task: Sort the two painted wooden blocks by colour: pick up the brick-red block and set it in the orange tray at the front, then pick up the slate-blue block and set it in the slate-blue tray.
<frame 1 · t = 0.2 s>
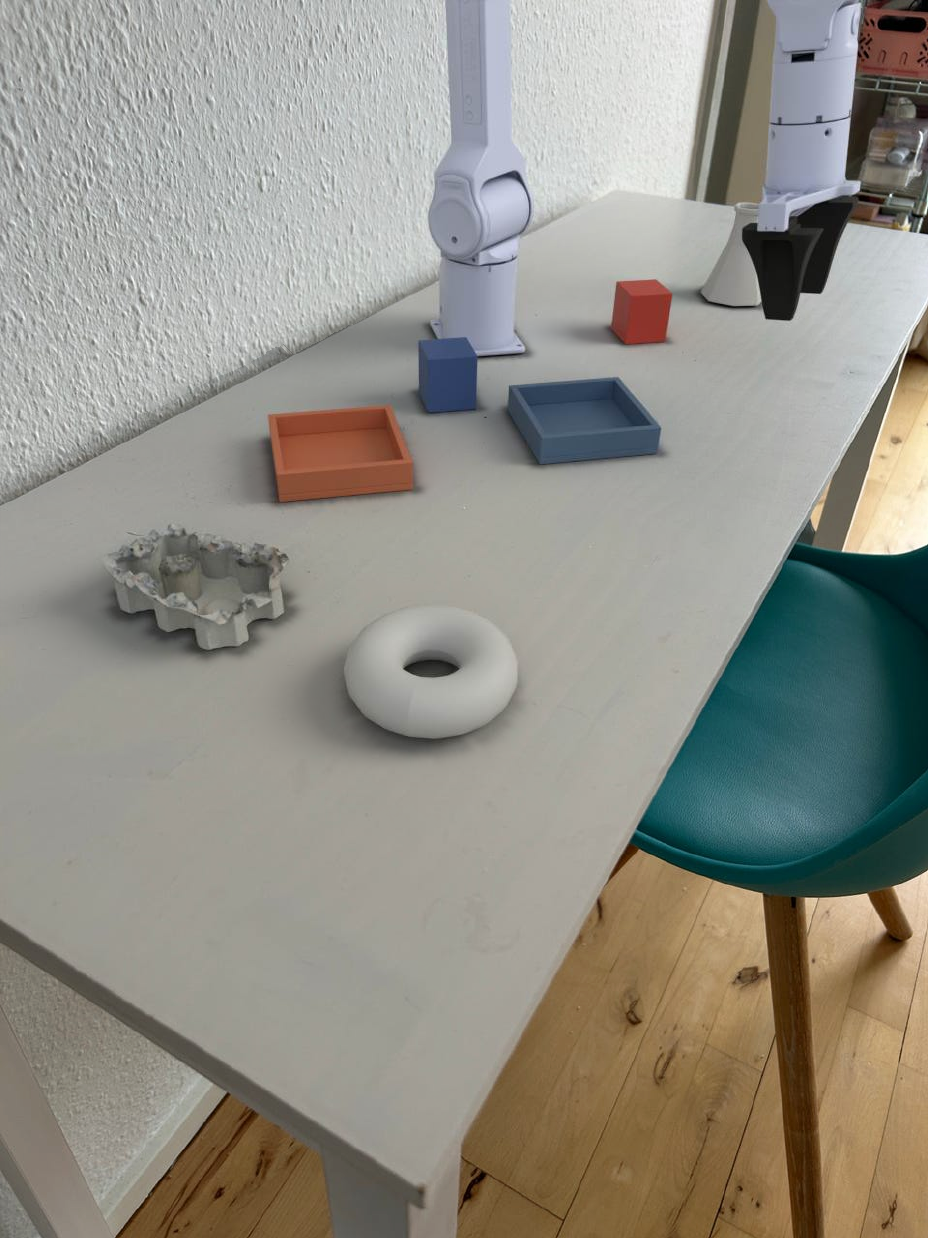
hand: (794, 305, 78), 10 cm above the table, tool pointing down, fingers open, 7 cm apart
orange tray: (339, 464, 77), on the table
egg carton: (201, 607, 62), on the table
blue block: (447, 400, 86), on the table
flask: (731, 299, 110), on the table
red block: (637, 335, 100), on the table
blue tray: (579, 431, 82), on the table
donut: (431, 692, 56), on the table
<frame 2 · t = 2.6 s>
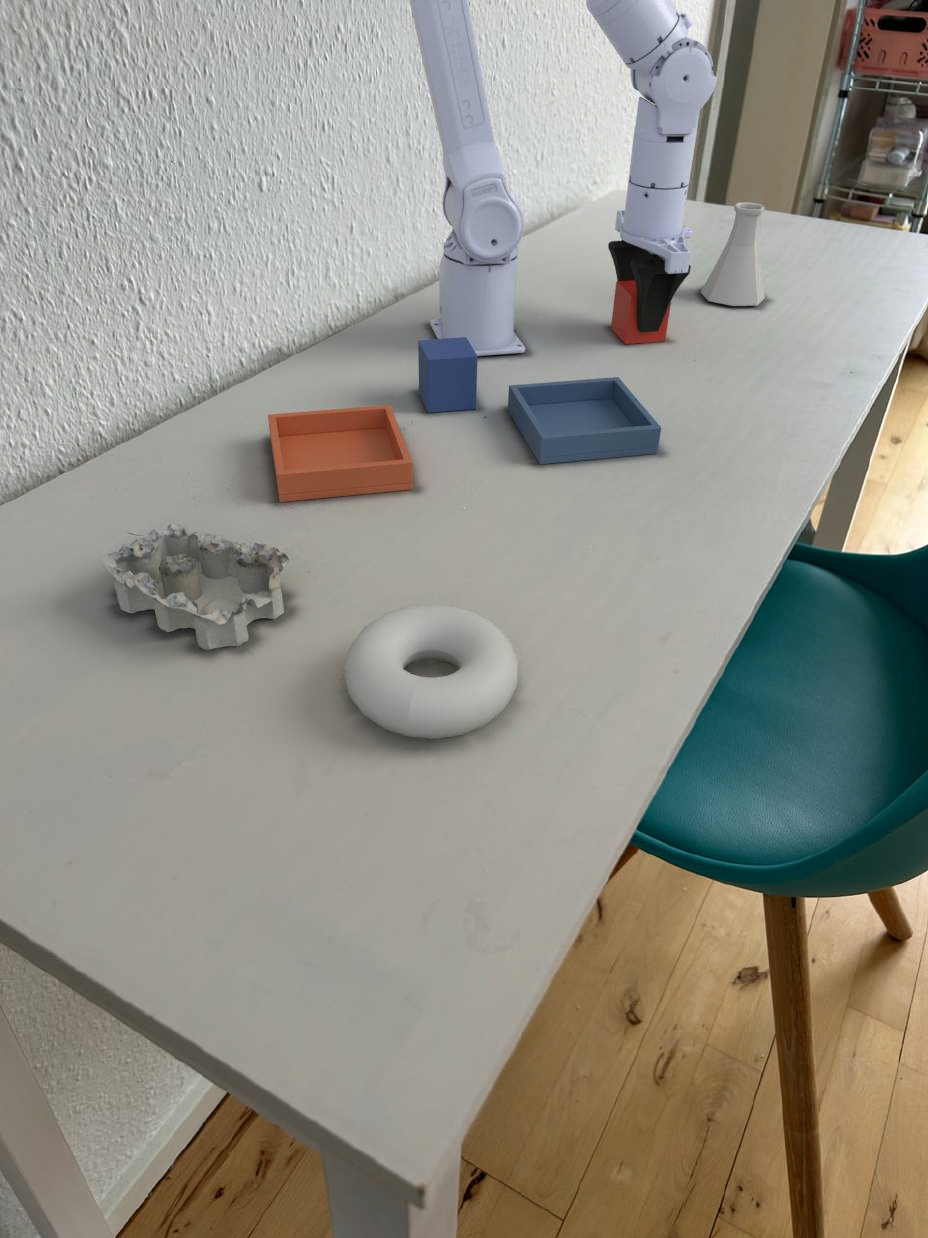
hand: (639, 321, 99), 1 cm above the table, tool pointing down, fingers closed on red block, 4 cm apart
red block: (637, 334, 100), on the table, touching gripper
everything else where it was.
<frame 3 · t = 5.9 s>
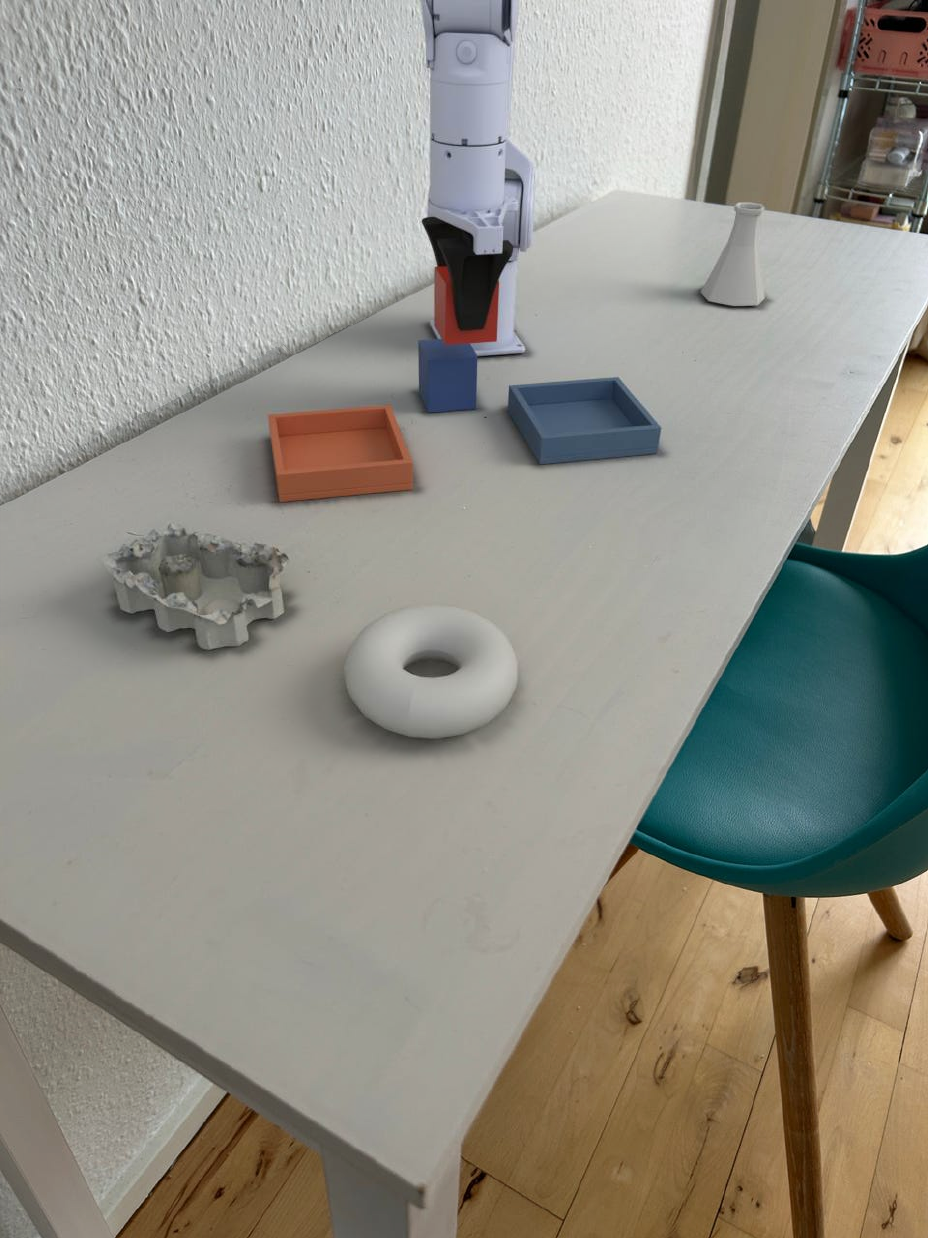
hand: (464, 317, 79), 8 cm above the table, tool pointing down, fingers closed on red block, 4 cm apart
red block: (465, 333, 80), point 7 cm above the table, touching gripper
everything else where it was.
when the fingers open (2 cm above the table, at t = 9.0 s): red block stays where it is, resting on orange tray.
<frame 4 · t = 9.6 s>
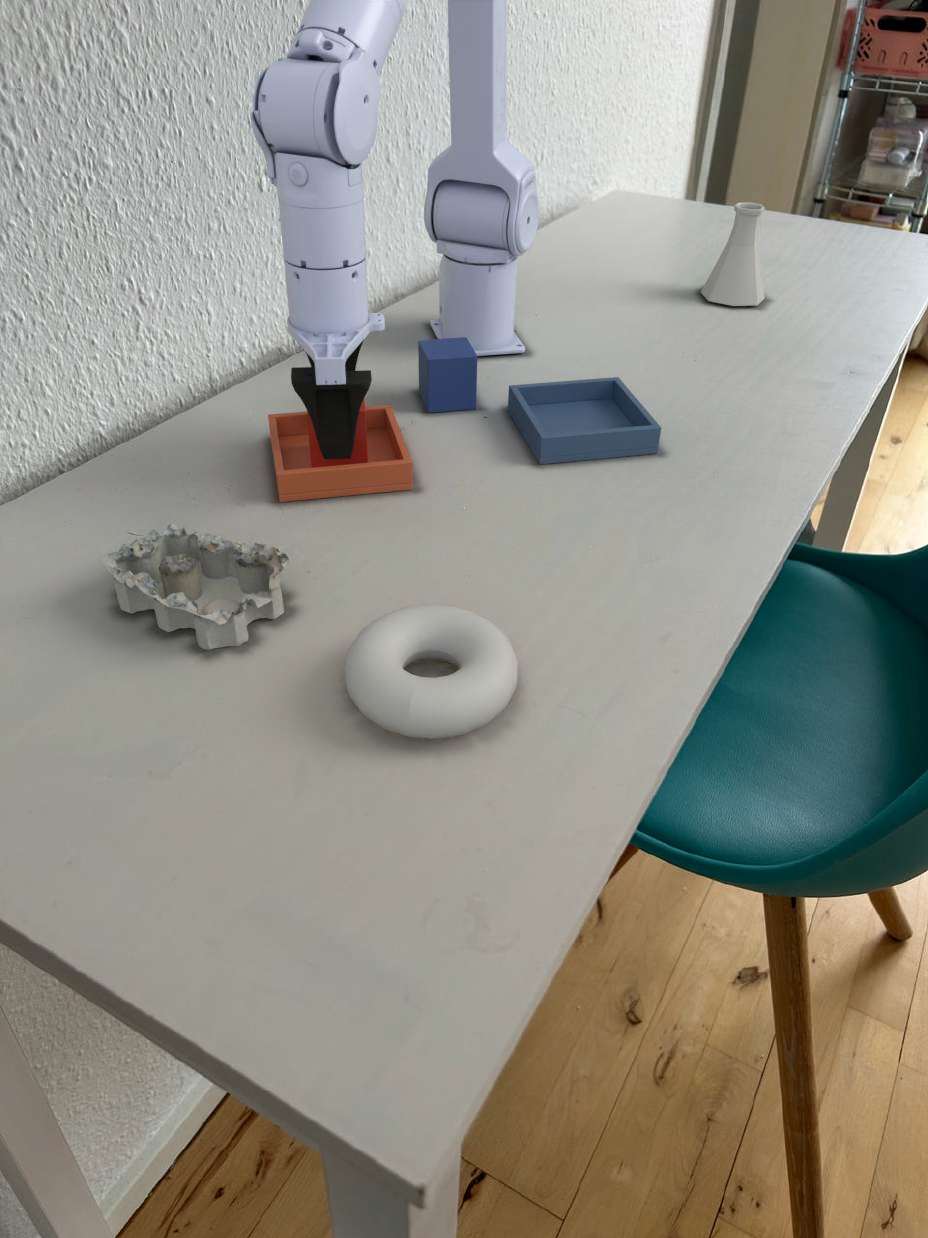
hand: (337, 433, 75), 3 cm above the table, tool pointing down, fingers open, 7 cm apart
red block: (340, 457, 76), point 1 cm above the table, touching orange tray
everything else where it was.
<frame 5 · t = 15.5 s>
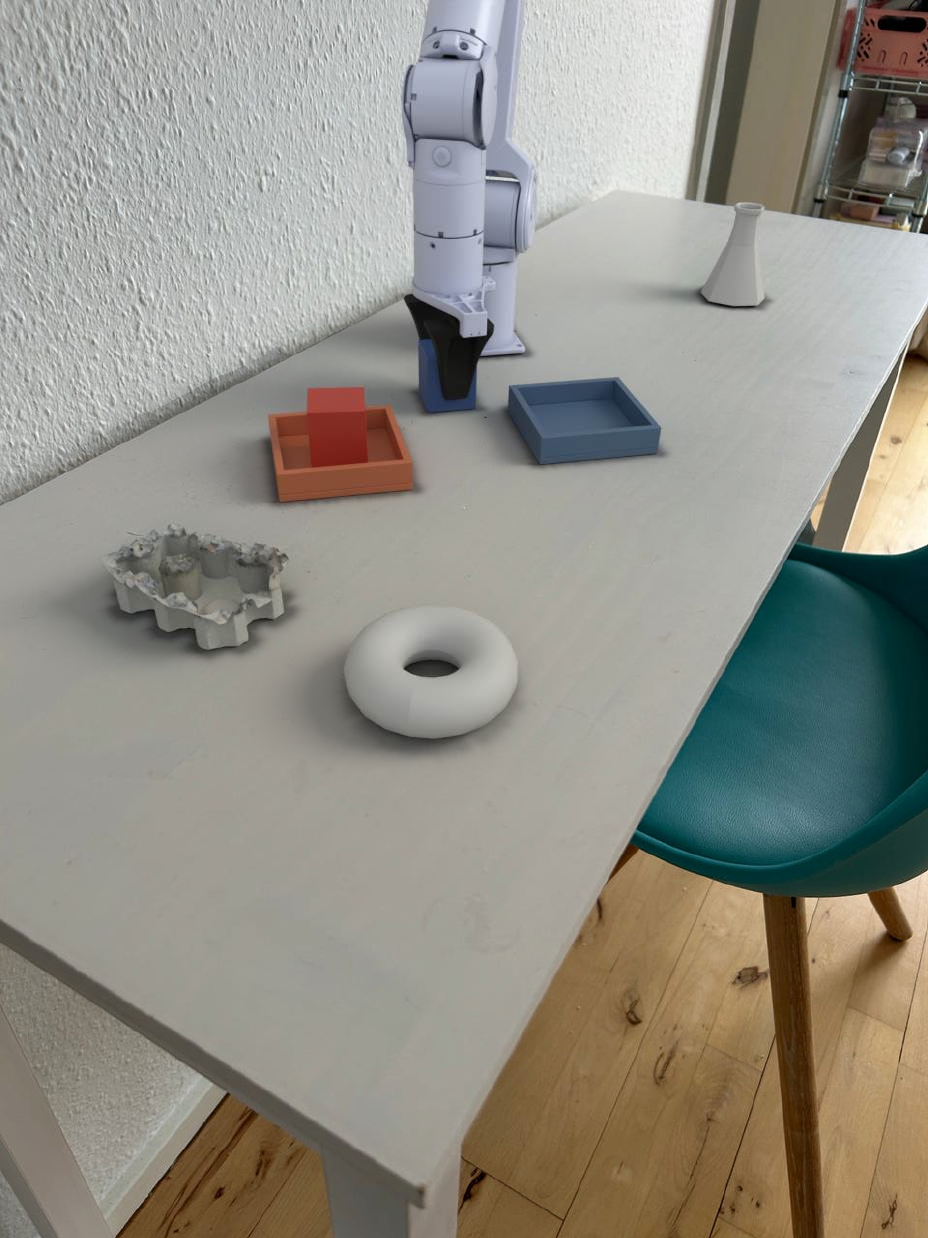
hand: (447, 386, 85), 1 cm above the table, tool pointing down, fingers closed on blue block, 4 cm apart
blue block: (446, 400, 86), on the table, touching gripper
everything else where it was.
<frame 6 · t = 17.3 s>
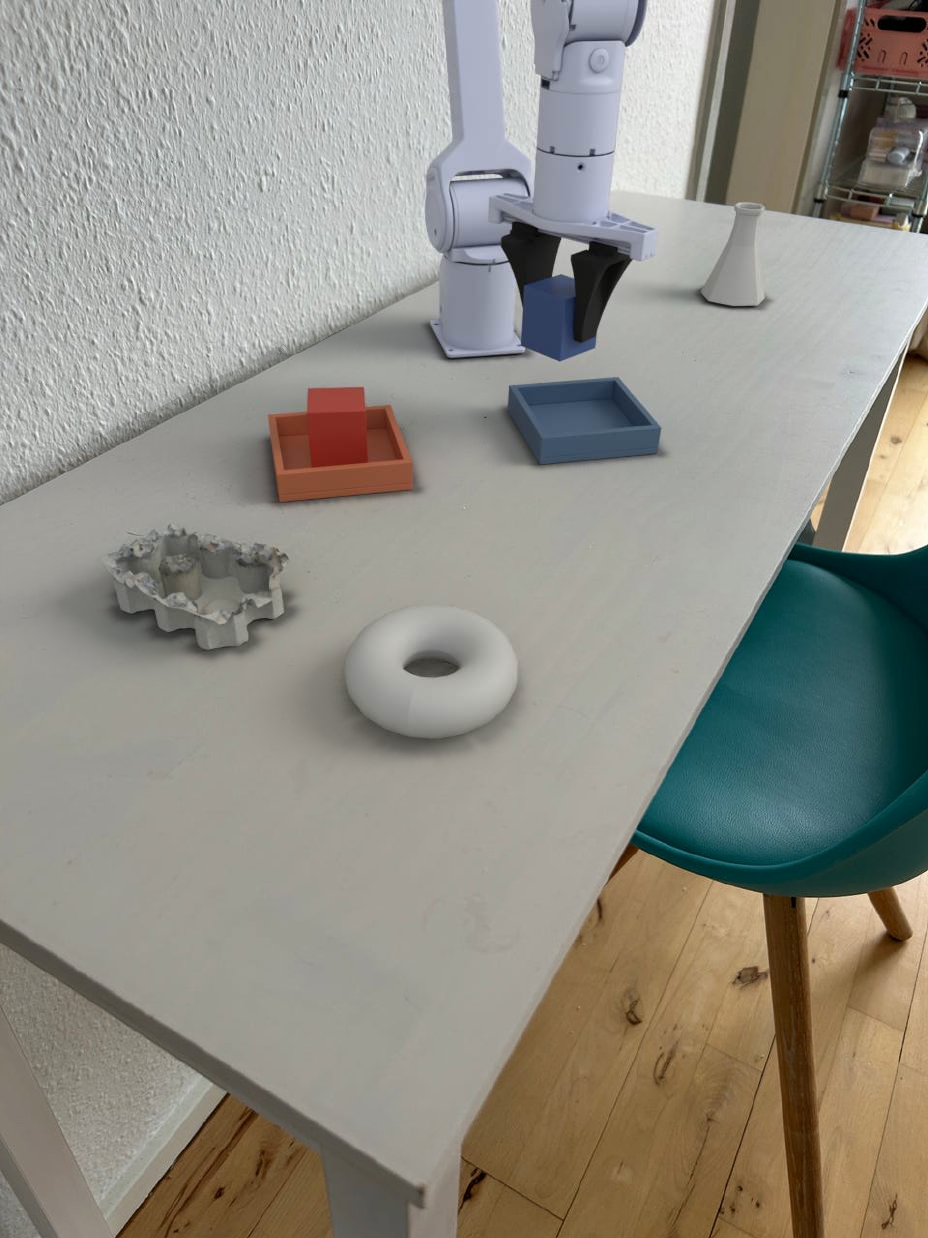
hand: (560, 330, 78), 8 cm above the table, tool pointing down, fingers closed on blue block, 4 cm apart
blue block: (557, 347, 79), point 7 cm above the table, touching gripper
everything else where it was.
when the fingers open (2 cm above the table, at t = 19.6 s): blue block stays where it is, resting on blue tray.
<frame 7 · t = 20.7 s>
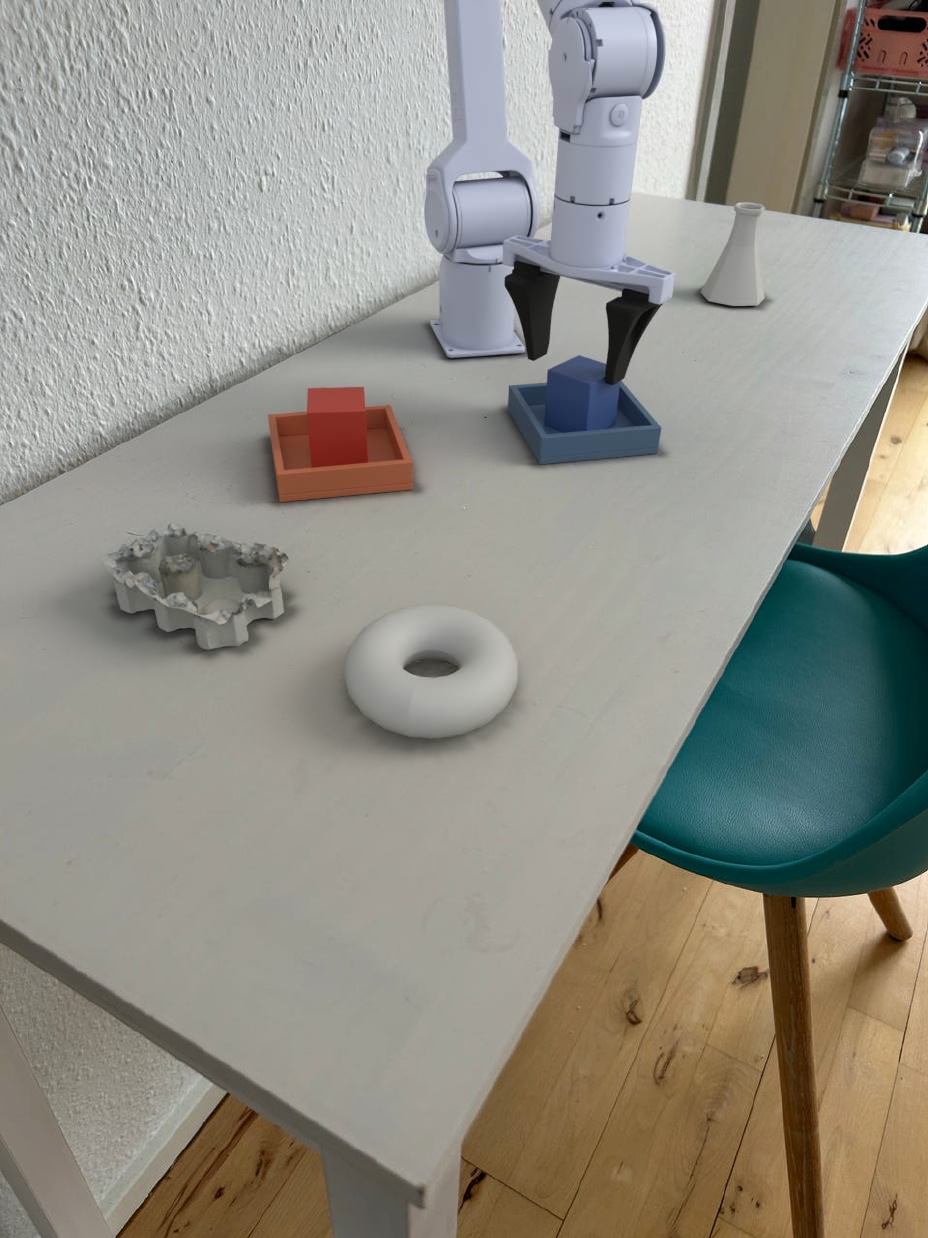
hand: (575, 368, 80), 5 cm above the table, tool pointing down, fingers open, 7 cm apart
blue block: (579, 424, 82), point 1 cm above the table, touching blue tray, gripper
everything else where it was.
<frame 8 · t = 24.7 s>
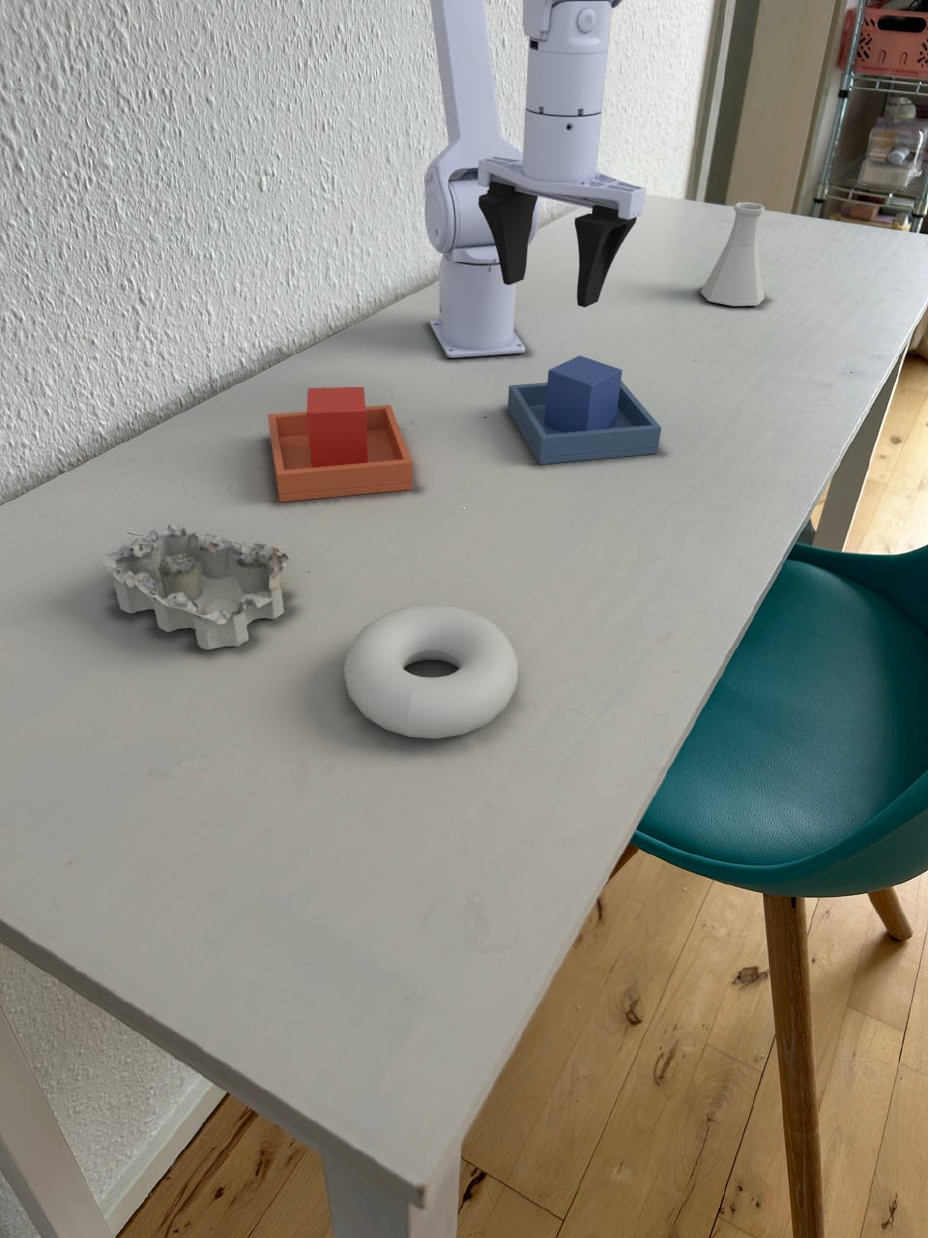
hand: (549, 292, 79), 10 cm above the table, tool pointing down, fingers open, 7 cm apart
blue block: (579, 425, 82), point 1 cm above the table, touching blue tray
everything else where it was.
at the end: red block inside the target area in the orange tray (0.1 cm from its centre), point 0.6 cm above the orange tray's base; blue block inside the target area in the blue tray (0.1 cm from its centre), point 0.6 cm above the blue tray's base; red block tilted 0° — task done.
